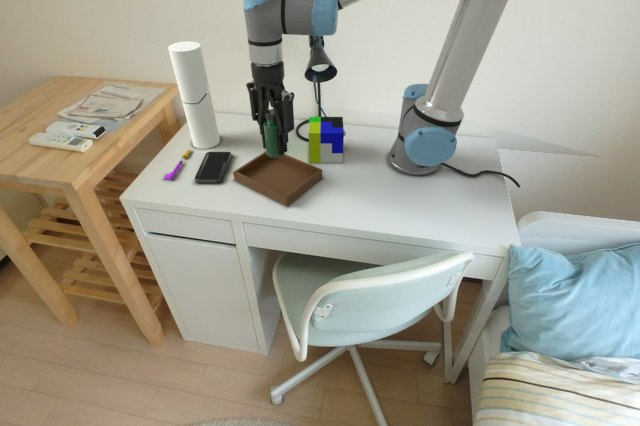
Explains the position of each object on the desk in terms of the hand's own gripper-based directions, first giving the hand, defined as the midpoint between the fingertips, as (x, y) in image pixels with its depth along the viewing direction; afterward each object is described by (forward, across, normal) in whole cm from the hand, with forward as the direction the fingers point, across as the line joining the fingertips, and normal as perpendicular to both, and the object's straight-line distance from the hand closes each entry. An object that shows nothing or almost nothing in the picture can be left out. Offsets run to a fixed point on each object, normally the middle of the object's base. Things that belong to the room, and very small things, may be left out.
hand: (275, 149), depth 101 cm
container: (+10, +33, -2) cm, 35 cm away
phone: (+10, +19, +7) cm, 23 cm away
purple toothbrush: (+10, +29, +12) cm, 33 cm away
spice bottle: (+1, 0, 0) cm, 1 cm away
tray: (+10, 0, 0) cm, 10 cm away
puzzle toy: (+10, -3, -19) cm, 22 cm away
